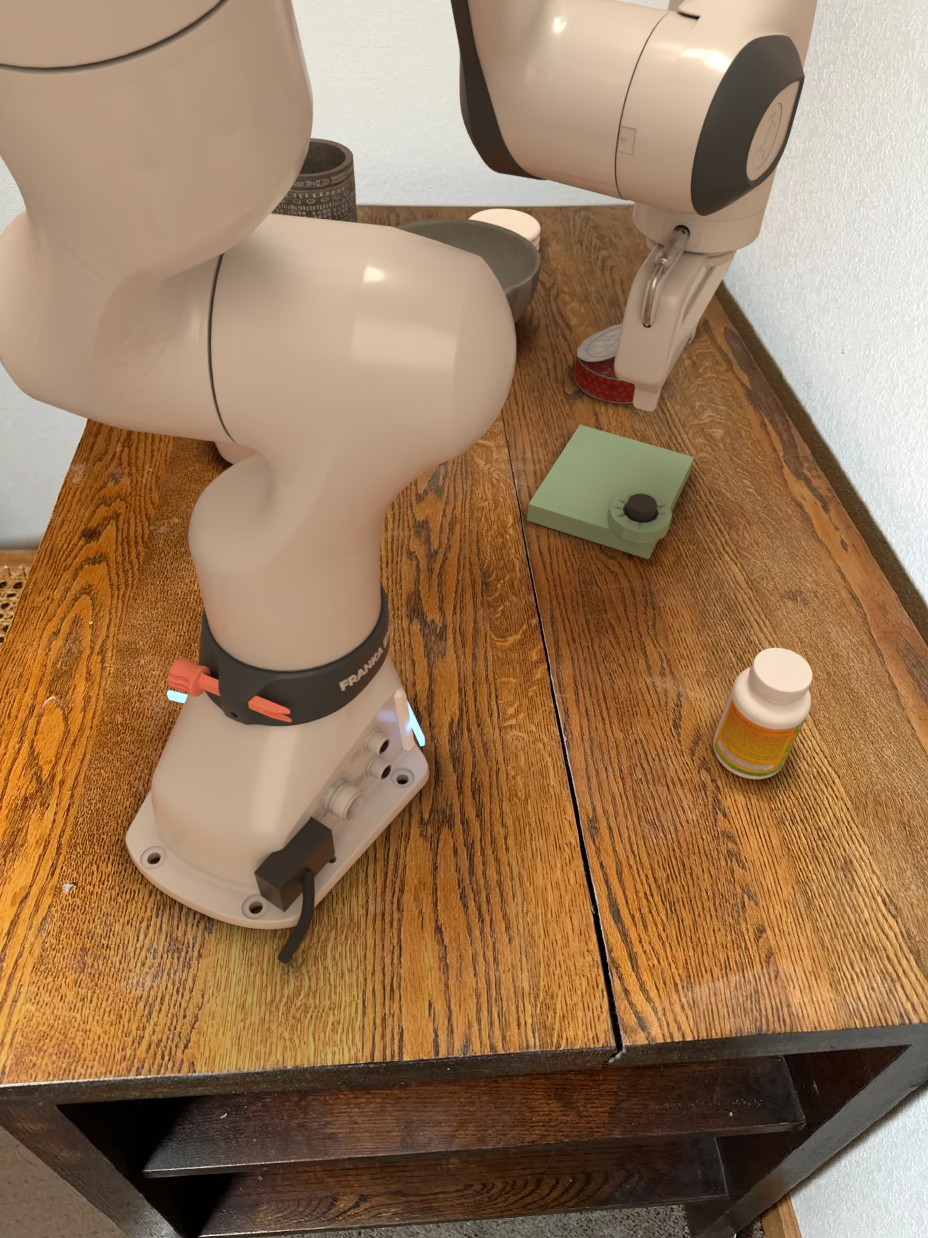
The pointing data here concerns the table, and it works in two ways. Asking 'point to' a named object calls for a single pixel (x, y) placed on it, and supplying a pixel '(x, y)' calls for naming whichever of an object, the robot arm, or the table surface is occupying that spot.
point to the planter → (323, 185)
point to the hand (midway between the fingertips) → (663, 373)
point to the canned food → (602, 368)
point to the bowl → (490, 253)
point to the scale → (610, 490)
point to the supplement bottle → (764, 714)
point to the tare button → (641, 508)
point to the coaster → (512, 222)
